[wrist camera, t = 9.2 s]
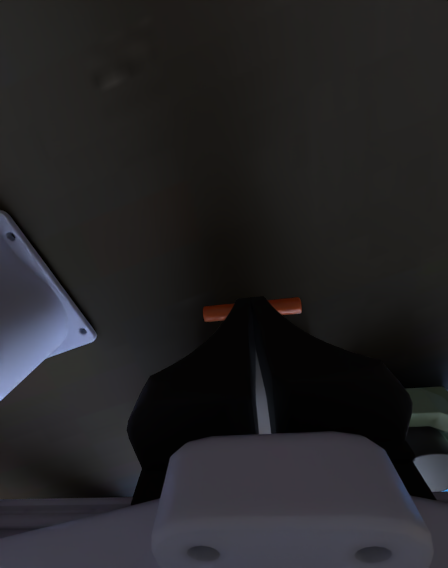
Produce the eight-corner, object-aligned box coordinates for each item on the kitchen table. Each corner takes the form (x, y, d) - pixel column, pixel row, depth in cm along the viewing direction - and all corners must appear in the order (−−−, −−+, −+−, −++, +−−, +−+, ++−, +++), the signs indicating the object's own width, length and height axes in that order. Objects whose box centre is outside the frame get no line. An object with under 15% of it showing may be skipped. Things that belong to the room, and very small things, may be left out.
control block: (330, 373, 17) (351, 416, 14) (449, 365, 17) (499, 409, 13) (325, 471, 22) (340, 520, 19) (417, 468, 21) (449, 520, 18)
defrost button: (380, 425, 15) (398, 455, 13) (449, 422, 15) (476, 452, 13) (373, 464, 17) (388, 495, 15) (435, 462, 16) (457, 494, 15)
